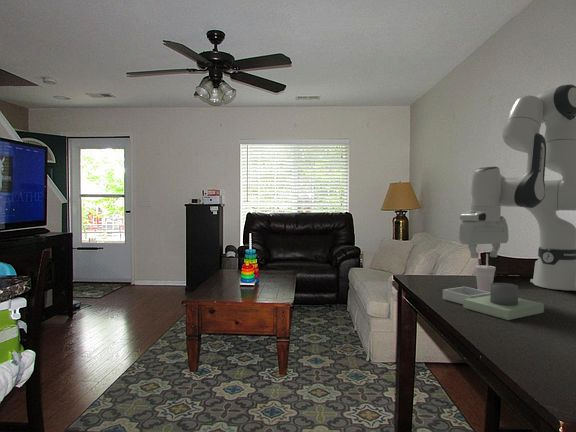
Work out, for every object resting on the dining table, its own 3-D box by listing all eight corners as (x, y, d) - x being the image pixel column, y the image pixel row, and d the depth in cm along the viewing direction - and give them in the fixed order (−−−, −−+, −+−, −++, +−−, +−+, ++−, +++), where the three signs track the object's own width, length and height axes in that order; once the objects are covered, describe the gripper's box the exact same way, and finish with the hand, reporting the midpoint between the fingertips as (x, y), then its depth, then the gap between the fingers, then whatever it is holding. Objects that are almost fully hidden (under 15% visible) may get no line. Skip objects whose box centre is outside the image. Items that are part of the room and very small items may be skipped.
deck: (470, 294, 135) (470, 272, 135) (543, 312, 114) (544, 286, 114) (436, 299, 128) (436, 276, 128) (508, 320, 107) (508, 292, 106)
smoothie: (497, 298, 130) (498, 255, 130) (476, 297, 132) (477, 254, 131) (492, 293, 136) (492, 252, 136) (471, 292, 138) (472, 252, 137)
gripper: (496, 215, 141) (495, 255, 141) (456, 215, 131) (455, 257, 131) (514, 216, 135) (513, 257, 135) (473, 215, 126) (471, 259, 126)
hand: (484, 257), depth 133 cm, fingers open, 8 cm apart
